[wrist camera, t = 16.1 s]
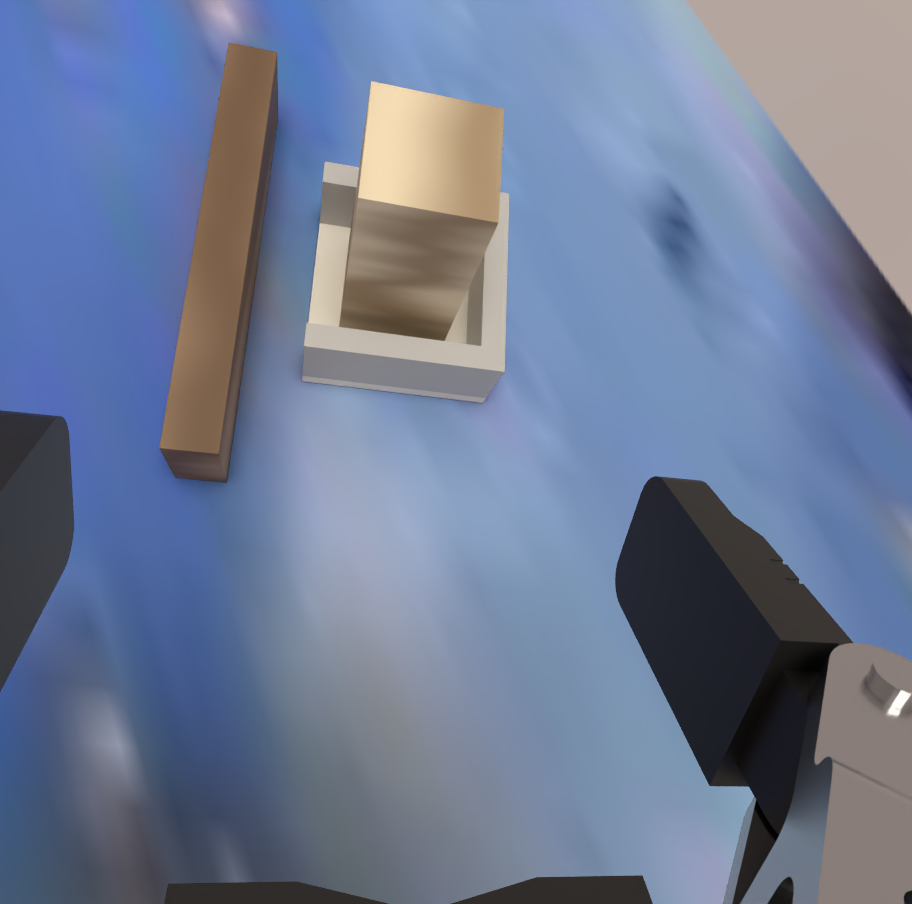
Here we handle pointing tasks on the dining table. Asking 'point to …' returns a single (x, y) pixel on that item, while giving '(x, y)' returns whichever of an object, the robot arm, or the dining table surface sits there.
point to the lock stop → (420, 211)
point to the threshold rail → (223, 270)
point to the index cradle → (395, 356)
